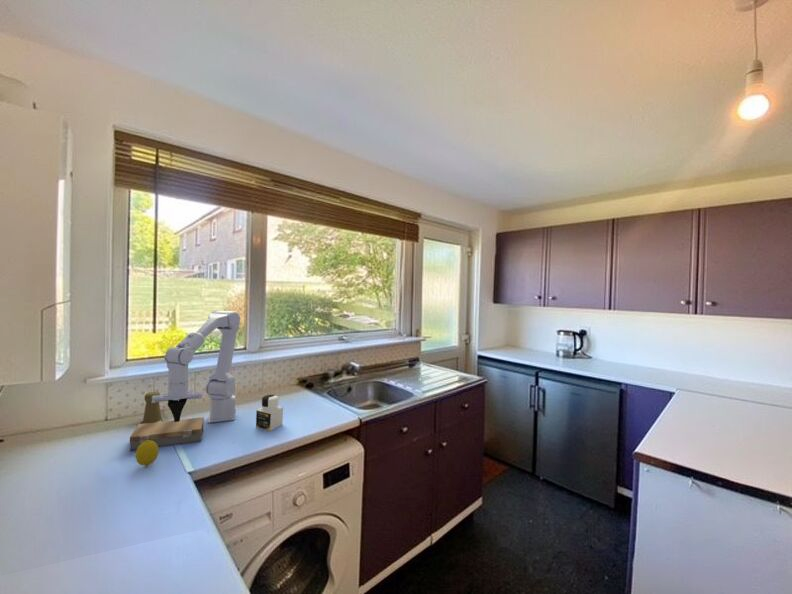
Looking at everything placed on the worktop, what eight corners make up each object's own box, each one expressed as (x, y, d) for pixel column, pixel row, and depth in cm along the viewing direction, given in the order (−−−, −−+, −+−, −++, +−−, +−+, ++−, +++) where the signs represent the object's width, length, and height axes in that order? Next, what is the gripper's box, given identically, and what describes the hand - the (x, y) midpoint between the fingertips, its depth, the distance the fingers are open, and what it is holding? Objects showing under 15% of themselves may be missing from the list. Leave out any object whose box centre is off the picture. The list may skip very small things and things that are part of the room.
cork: (165, 417, 136) (165, 390, 136) (153, 423, 130) (153, 395, 130) (151, 416, 137) (151, 389, 137) (138, 422, 131) (139, 394, 131)
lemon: (133, 472, 98) (134, 445, 98) (137, 463, 103) (138, 437, 103) (156, 468, 101) (157, 442, 100) (159, 459, 106) (160, 434, 105)
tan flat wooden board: (203, 422, 127) (203, 417, 127) (200, 435, 117) (200, 429, 117) (138, 429, 119) (138, 424, 119) (129, 444, 109) (129, 438, 109)
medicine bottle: (255, 427, 131) (256, 397, 131) (268, 421, 138) (269, 392, 137) (269, 431, 129) (270, 400, 128) (282, 424, 135) (283, 395, 135)
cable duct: (203, 429, 127) (203, 422, 127) (200, 441, 118) (200, 433, 118) (138, 437, 119) (138, 429, 119) (129, 451, 110) (130, 442, 110)
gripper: (150, 387, 110) (149, 428, 110) (201, 383, 116) (200, 422, 116) (154, 381, 116) (153, 420, 116) (203, 377, 122) (202, 414, 123)
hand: (177, 420), depth 117 cm, fingers closed
